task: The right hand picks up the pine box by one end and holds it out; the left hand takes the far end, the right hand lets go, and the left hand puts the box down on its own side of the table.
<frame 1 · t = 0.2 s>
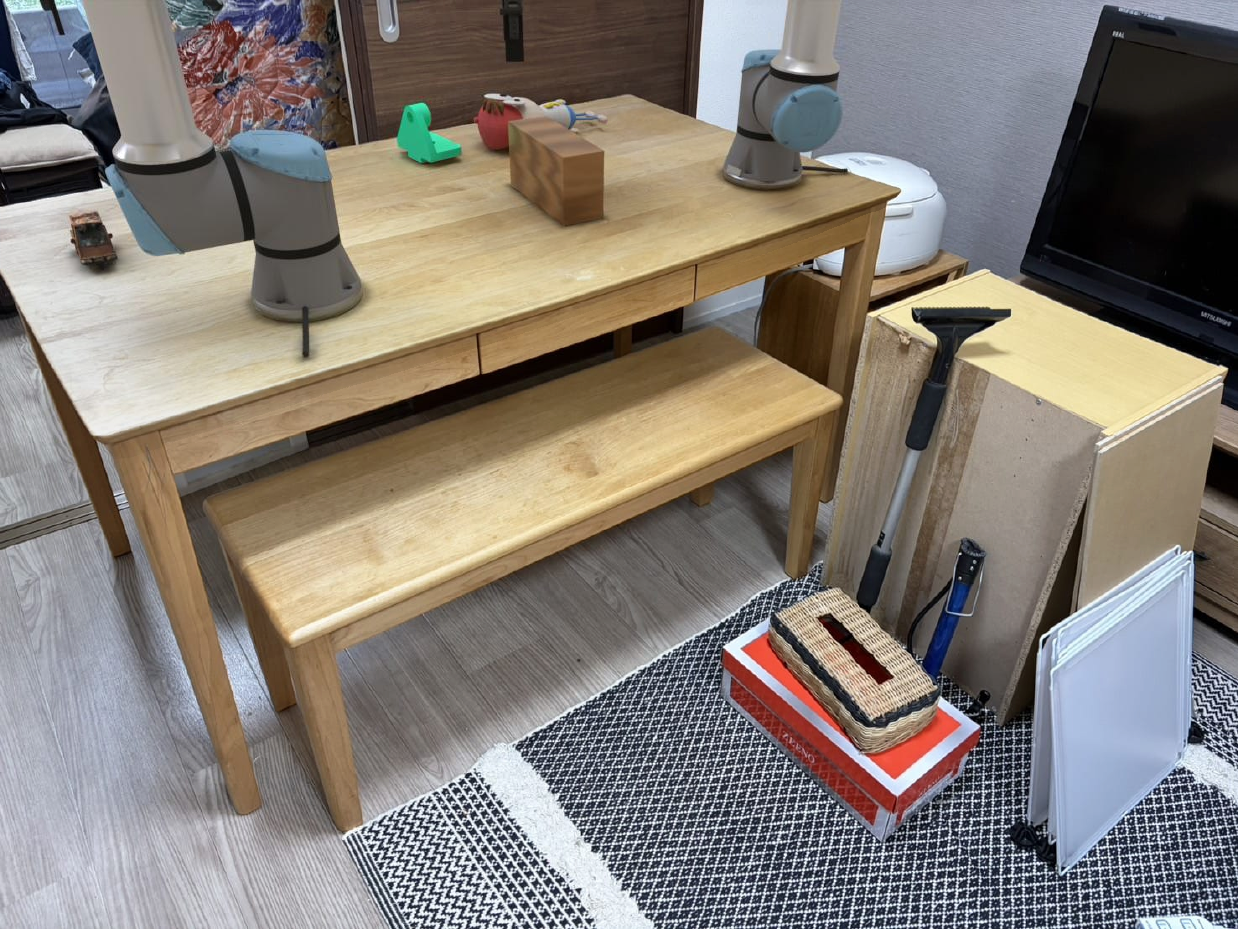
left hand: (109, 29, 146), 28 cm above the table, tool pointing down, fingers open, 13 cm apart
right hand: (513, 50, 145), 27 cm above the table, tool pointing down, fingers open, 13 cm apart
toy: (541, 138, 196), on the table
box: (555, 201, 168), on the table
camera mount: (431, 156, 185), on the table
toy car: (98, 258, 144), on the table
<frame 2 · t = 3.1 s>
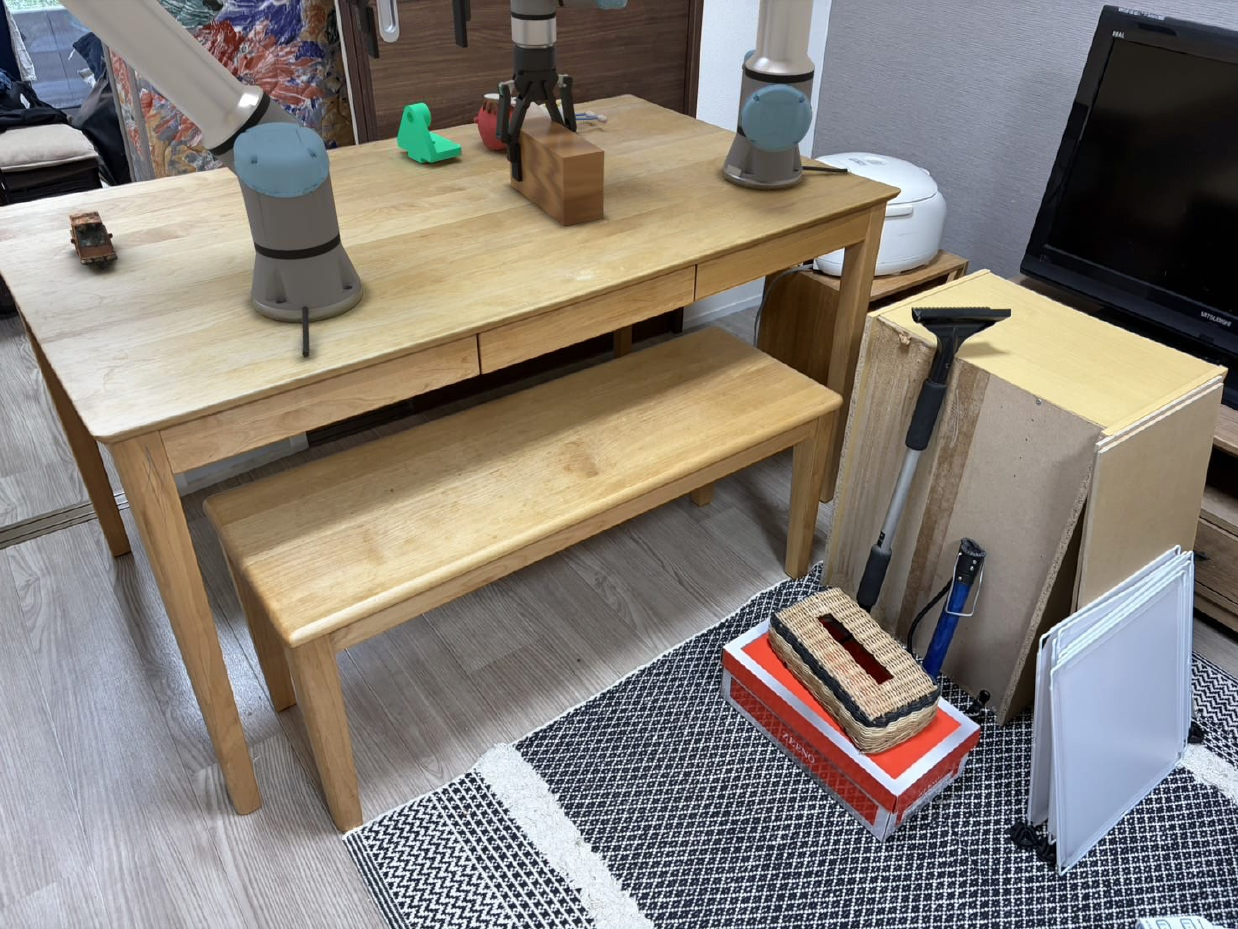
left hand: (418, 51, 135), 29 cm above the table, tool pointing down, fingers open, 13 cm apart
right hand: (538, 175, 171), 3 cm above the table, tool pointing down, fingers closed on box, 8 cm apart
box: (555, 201, 168), on the table, touching right hand
everything else where it was.
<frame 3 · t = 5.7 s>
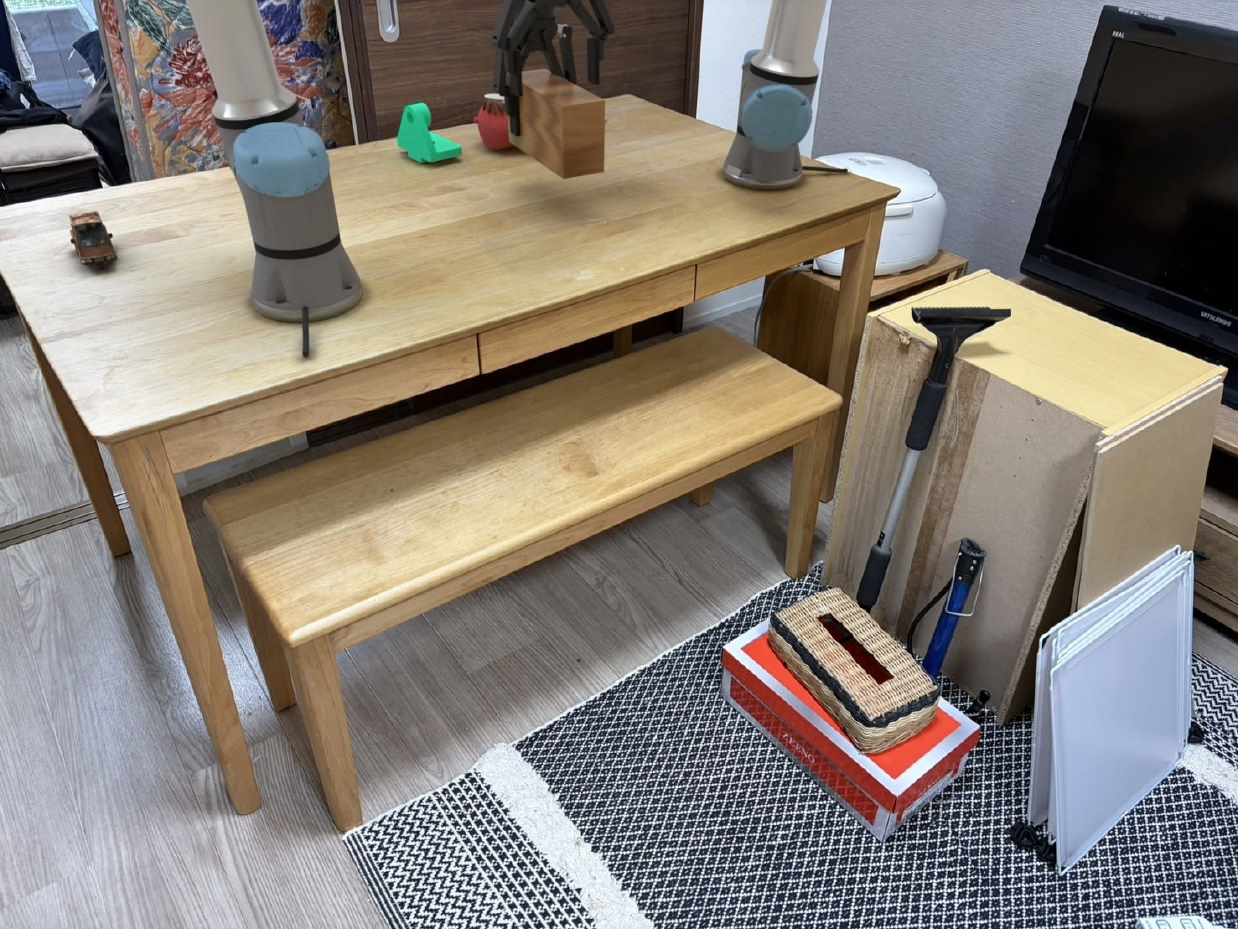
left hand: (556, 88, 147), 22 cm above the table, tool pointing down, fingers open, 13 cm apart
right hand: (536, 130, 166), 11 cm above the table, tool pointing down, fingers closed on box, 8 cm apart
box: (554, 156, 163), point 8 cm above the table, touching right hand
everything else where it was.
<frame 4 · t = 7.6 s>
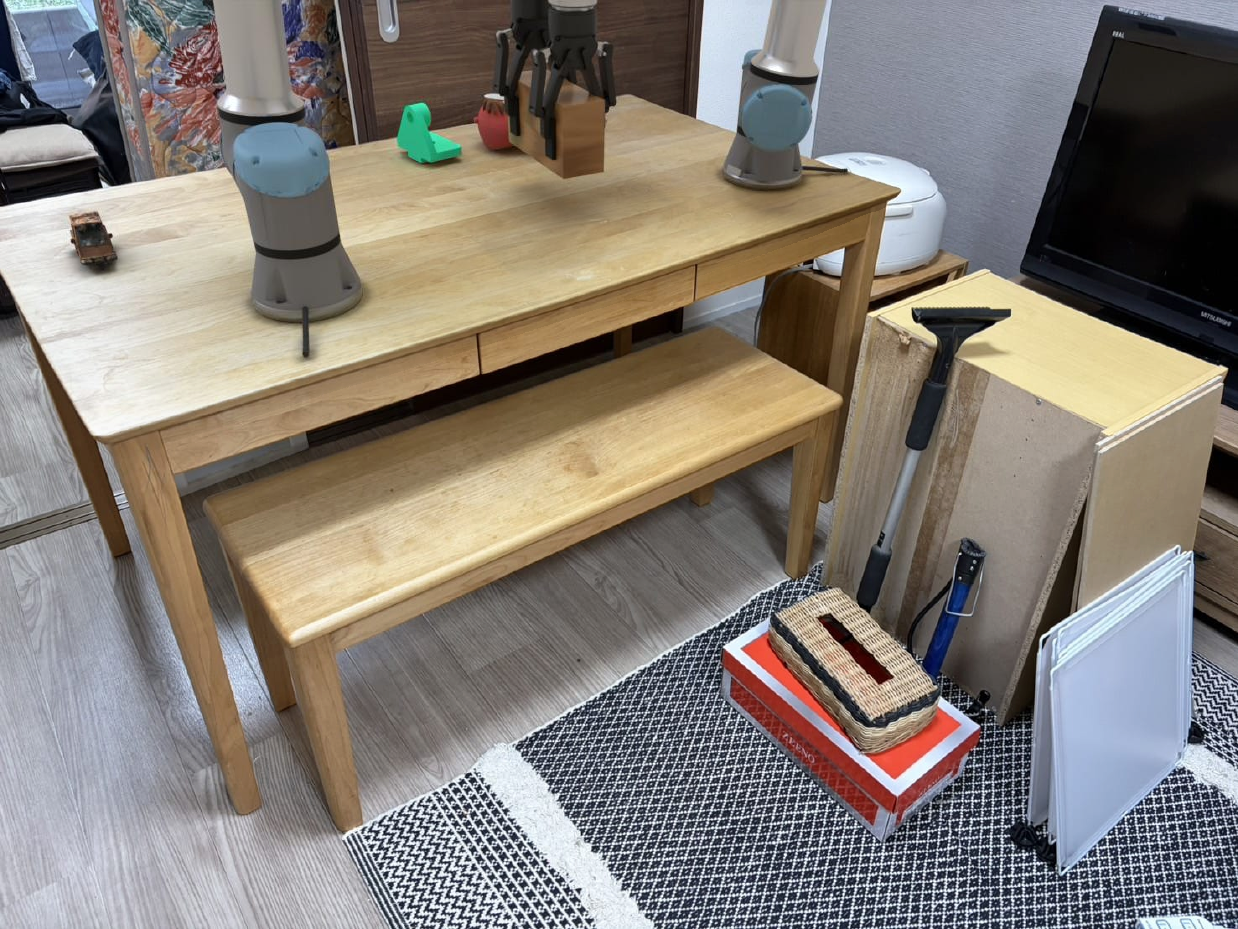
left hand: (573, 153, 156), 11 cm above the table, tool pointing down, fingers closed on box, 8 cm apart
right hand: (536, 130, 166), 11 cm above the table, tool pointing down, fingers closed on box, 8 cm apart
box: (554, 156, 163), point 8 cm above the table, touching left hand, right hand
everything else where it was.
when the right hand's fingers open (11 cm above the table, at t = 8.5 s): box stays where it is, held by the left hand.
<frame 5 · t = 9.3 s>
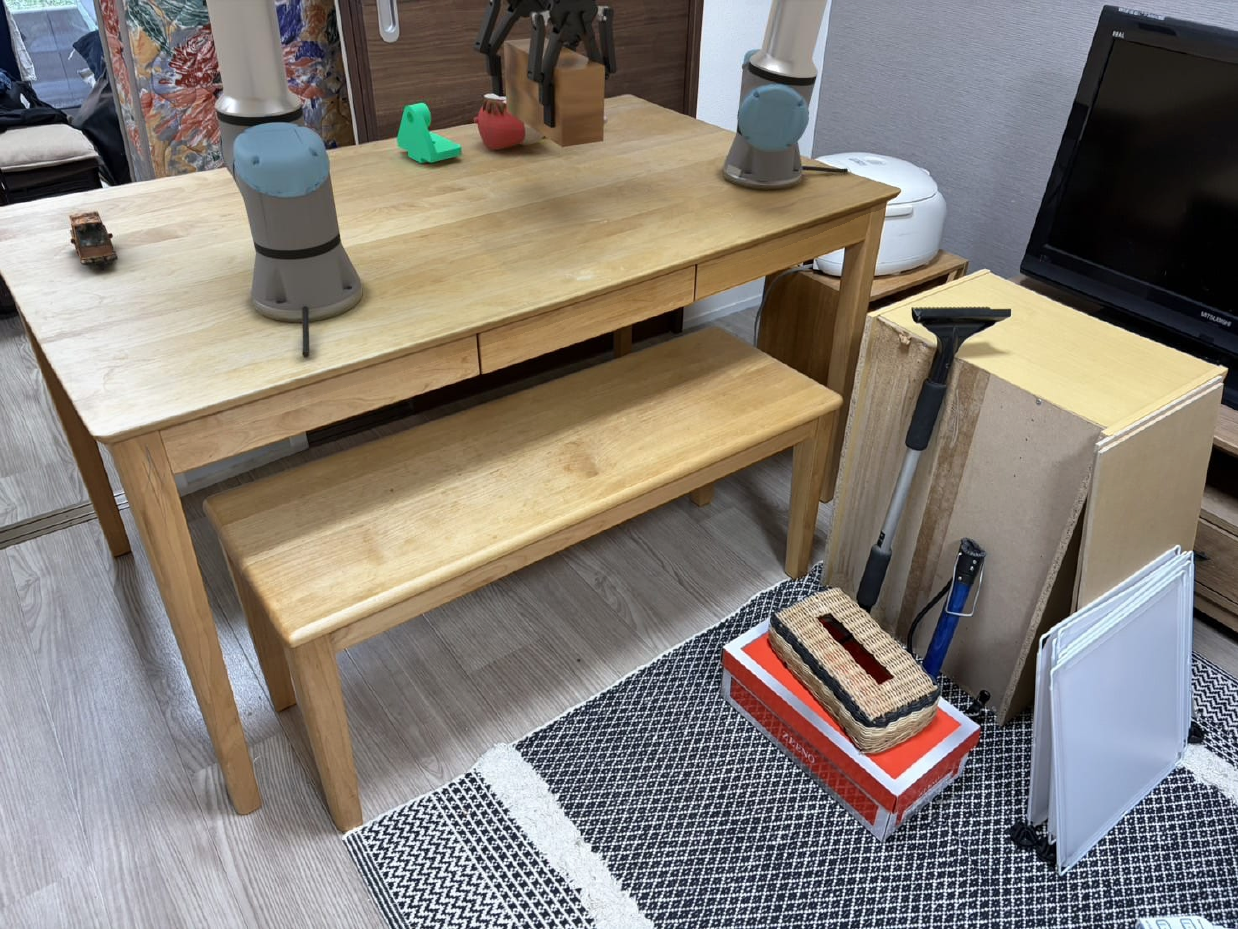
left hand: (572, 121, 153), 16 cm above the table, tool pointing down, fingers closed on box, 8 cm apart
right hand: (533, 89, 163), 17 cm above the table, tool pointing down, fingers open, 13 cm apart
box: (553, 125, 159), point 13 cm above the table, touching left hand
everything else where it was.
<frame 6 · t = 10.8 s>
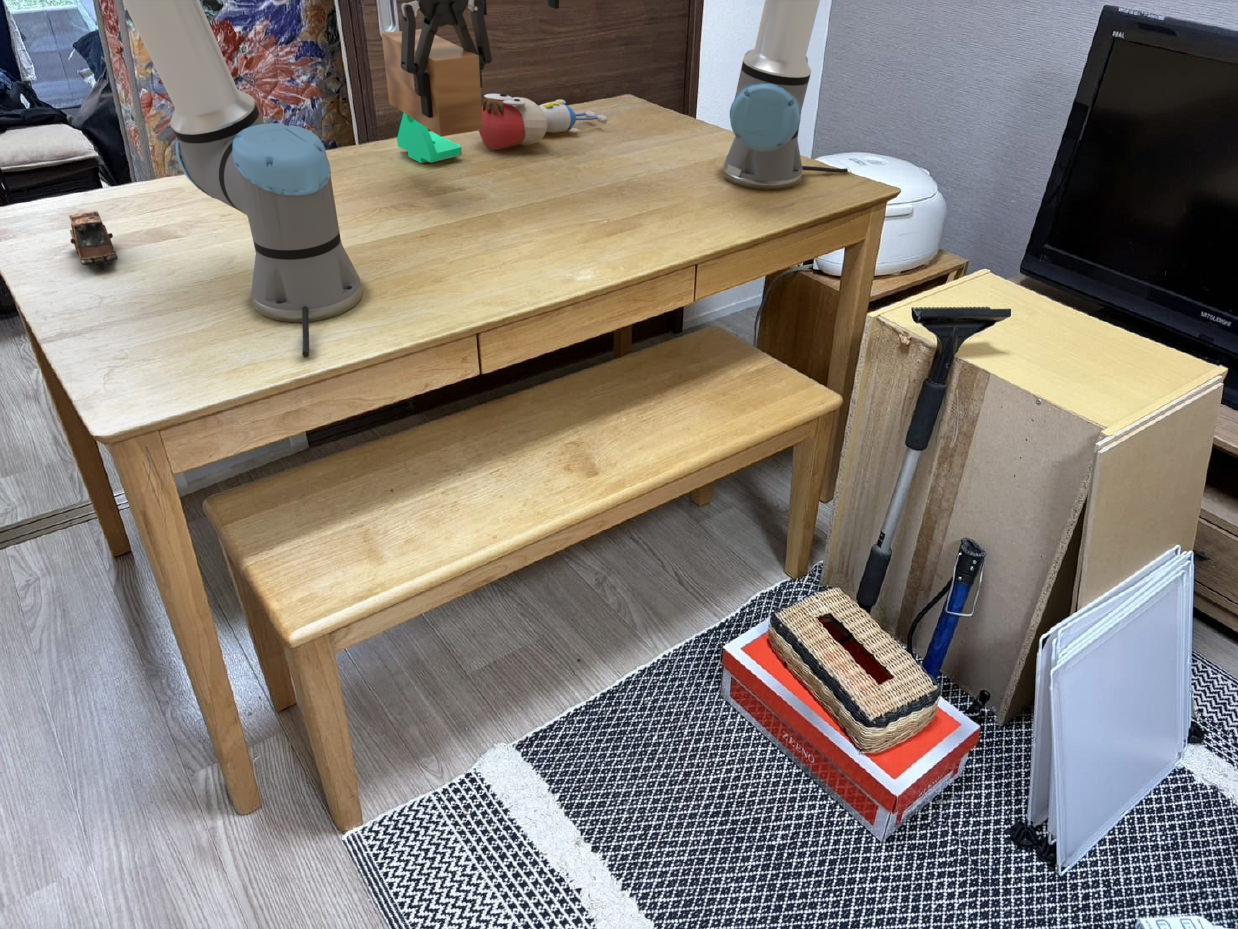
left hand: (450, 111, 155), 16 cm above the table, tool pointing down, fingers closed on box, 8 cm apart
right hand: (518, 10, 159), 29 cm above the table, tool pointing down, fingers open, 13 cm apart
box: (434, 116, 161), point 14 cm above the table, touching left hand
everything else where it was.
when the left hand's fingers open (4 cm above the table, at t = 14.1 s): box drops 1 cm, on the table.
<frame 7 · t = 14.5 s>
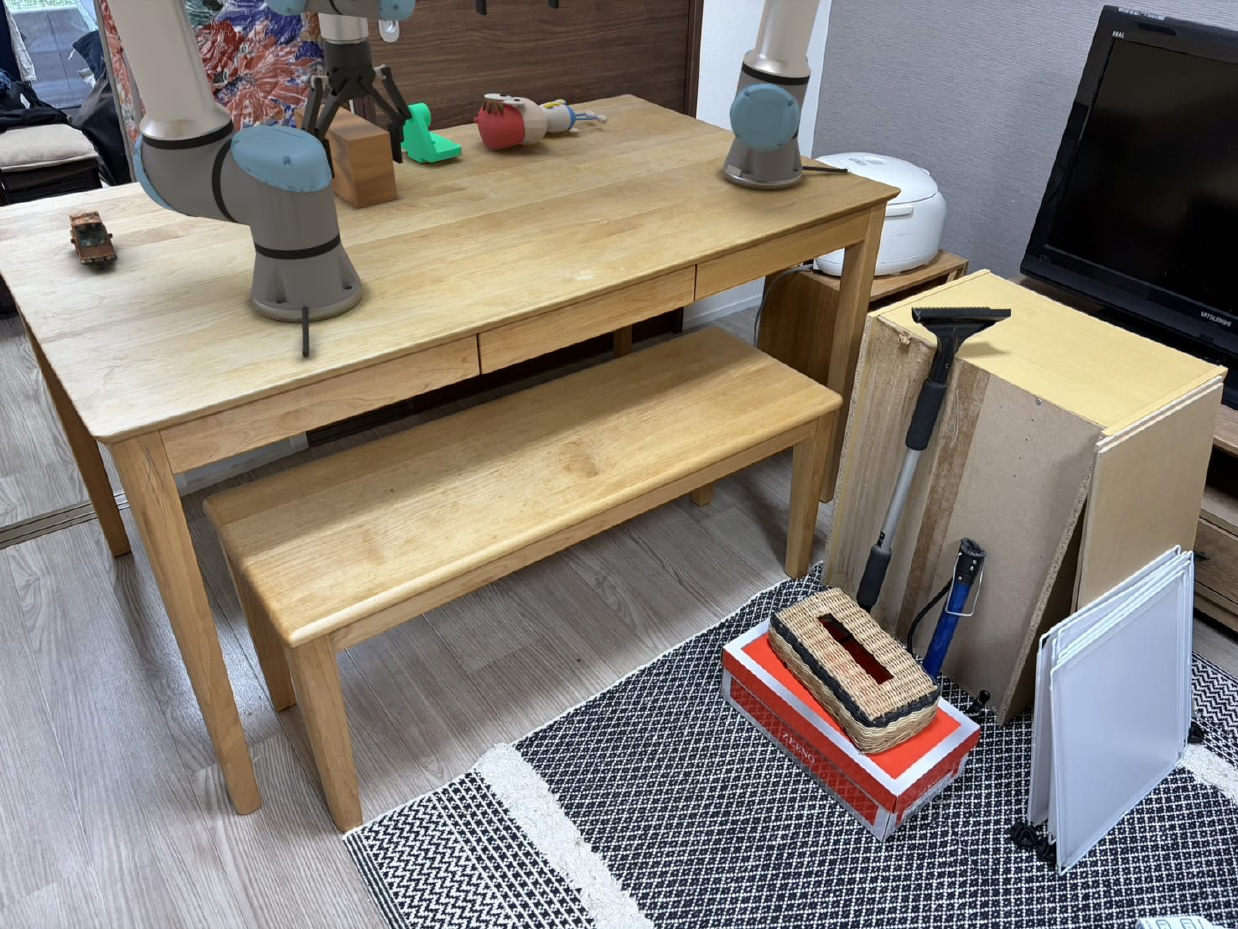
left hand: (364, 168, 164), 5 cm above the table, tool pointing down, fingers open, 12 cm apart
right hand: (518, 10, 159), 29 cm above the table, tool pointing down, fingers open, 13 cm apart
box: (350, 185, 171), on the table
everything else where it was.
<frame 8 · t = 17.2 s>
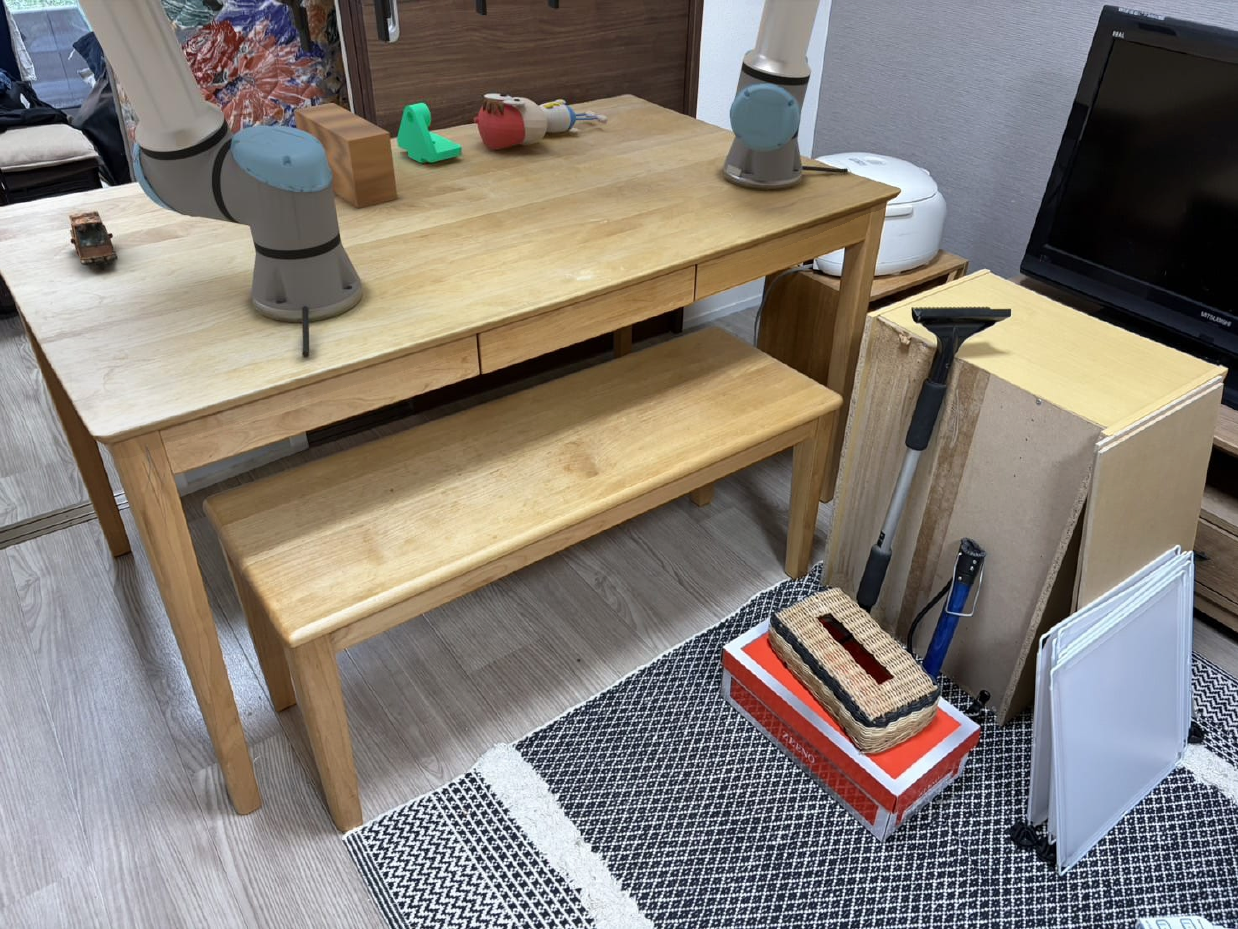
left hand: (346, 45, 152), 25 cm above the table, tool pointing down, fingers open, 13 cm apart
right hand: (518, 10, 159), 29 cm above the table, tool pointing down, fingers open, 13 cm apart
nothing on the table moved.
at the end: box inside the target area (6.8 cm from its centre), on the table; the left hand is holding nothing; the right hand is holding nothing; box at rest at the end (0.0 cm/s) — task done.
